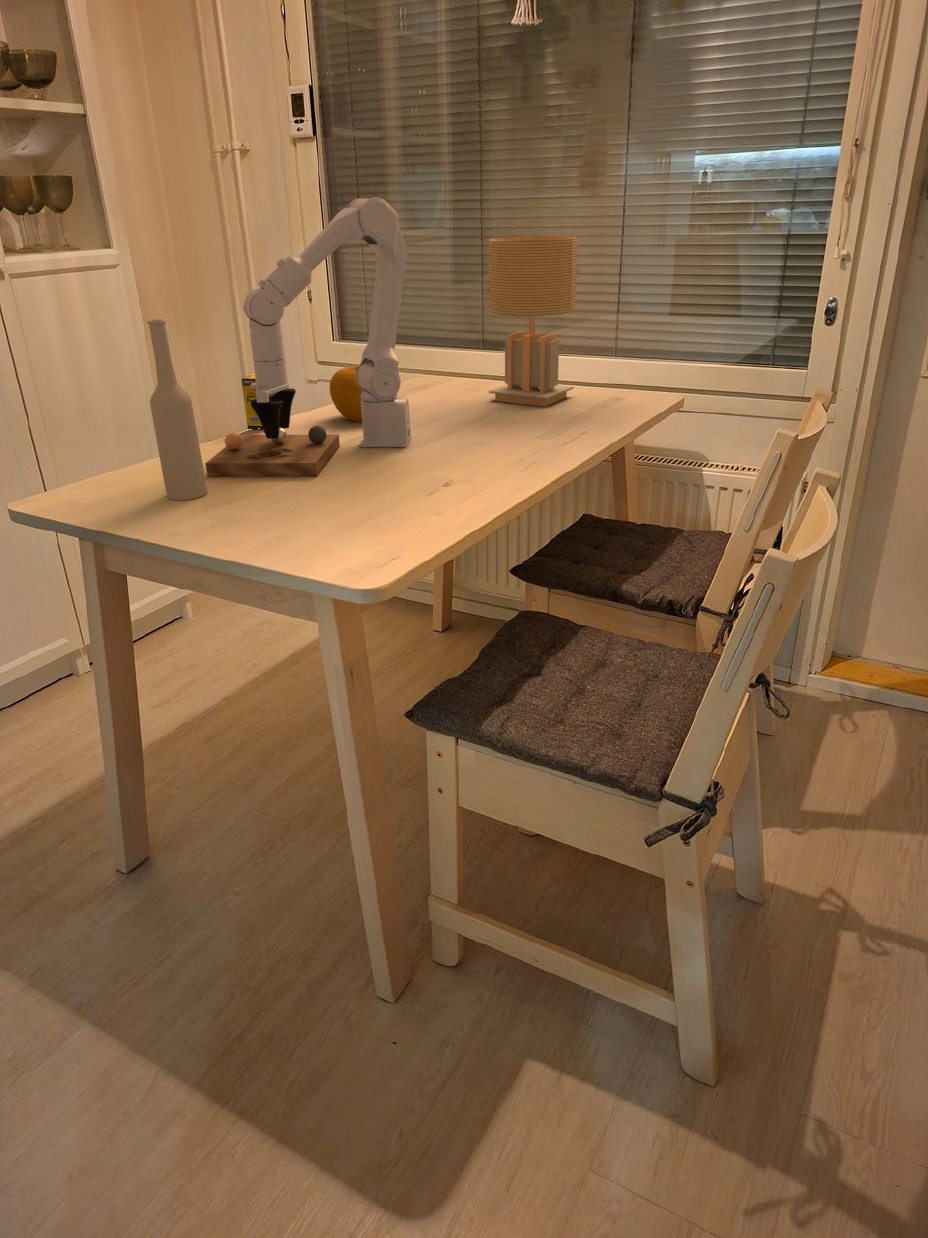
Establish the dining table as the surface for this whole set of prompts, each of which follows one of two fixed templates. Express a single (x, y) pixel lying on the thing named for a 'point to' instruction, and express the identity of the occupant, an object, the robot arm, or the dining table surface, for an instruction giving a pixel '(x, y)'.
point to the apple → (346, 393)
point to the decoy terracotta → (233, 441)
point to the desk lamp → (532, 311)
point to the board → (274, 457)
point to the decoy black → (317, 434)
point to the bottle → (174, 425)
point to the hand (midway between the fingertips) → (278, 432)
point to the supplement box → (249, 395)
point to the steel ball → (281, 436)
